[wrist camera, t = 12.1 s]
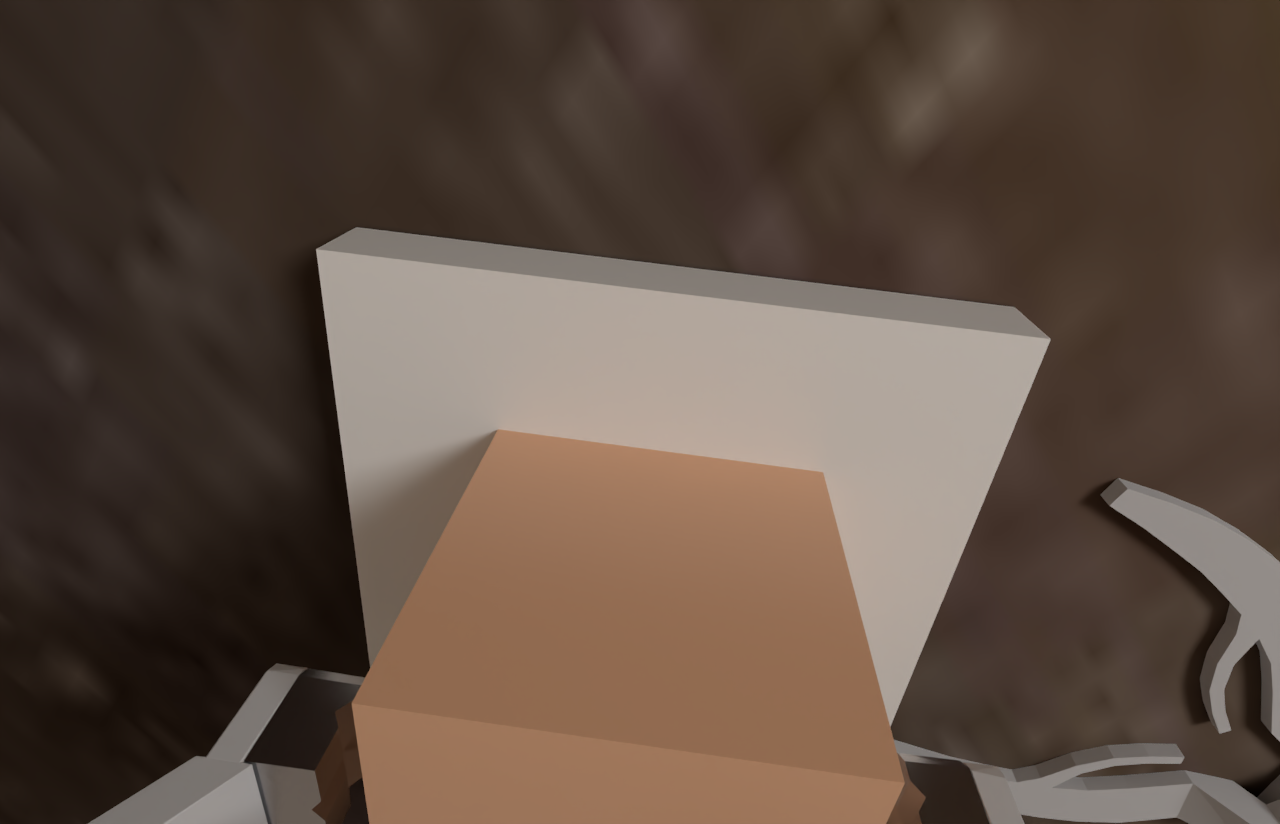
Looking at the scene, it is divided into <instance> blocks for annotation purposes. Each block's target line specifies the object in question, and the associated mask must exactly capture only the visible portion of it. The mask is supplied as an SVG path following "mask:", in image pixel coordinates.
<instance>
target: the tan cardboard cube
mask: <svg viewBox="0 0 1280 824" xmlns="http://www.w3.org/2000/svg"><path fill="white" fill-rule="evenodd" d="M352 710H353V717H354V724H355V730H356V737H357V744H358V751H359V757H360V764H361V771H362V777H363V784H364V791H365V798H366V804H367V811H368V818H369V824H886V823H887V821H888V819H889V816H890V814H891V812H892V810H893V808H894V806H895V803H896V801H897V799H898V797H899V795H900V793H901V791H902V788H903V786H904V784H905V781H904V778H903V774H902V770H901V766H900V762H899V759H898V755H897V751H896V747H895V743H894V740H893V736H892V732H891V728H890V724H889V721H888V717H887V713H886V709H885V705H884V702H883V698H882V694H881V690H880V686H879V683H878V679H877V675H876V671H875V667H874V664H873V660H872V656H871V652H870V648H869V645H868V641H867V637H866V633H865V629H864V626H863V622H862V618H861V614H860V610H859V607H858V603H857V599H856V595H855V591H854V588H853V584H852V580H851V576H850V572H849V569H848V565H847V561H846V557H845V553H844V550H843V546H842V542H841V538H840V534H839V531H838V527H837V523H836V519H835V515H834V512H833V508H832V504H831V500H830V496H829V493H828V489H827V485H826V481H825V477H824V474H823V472H818V471H810V470H803V469H795V468H788V467H780V466H772V465H765V464H757V463H750V462H742V461H735V460H727V459H719V458H712V457H704V456H697V455H689V454H682V453H674V452H666V451H659V450H651V449H644V448H636V447H629V446H621V445H614V444H606V443H598V442H591V441H583V440H576V439H568V438H561V437H553V436H545V435H538V434H530V433H523V432H515V431H508V430H500V429H498V430H497V432H496V434H495V436H494V438H493V440H492V442H491V443H490V445H489V447H488V449H487V451H486V453H485V455H484V456H483V458H482V460H481V462H480V464H479V466H478V468H477V470H476V471H475V473H474V475H473V477H472V479H471V481H470V483H469V485H468V486H467V488H466V490H465V492H464V494H463V496H462V498H461V499H460V501H459V503H458V505H457V507H456V509H455V511H454V513H453V514H452V516H451V518H450V520H449V522H448V524H447V526H446V528H445V529H444V531H443V533H442V535H441V537H440V539H439V541H438V543H437V544H436V546H435V548H434V550H433V552H432V554H431V556H430V557H429V559H428V561H427V563H426V565H425V567H424V569H423V571H422V572H421V574H420V576H419V578H418V580H417V582H416V584H415V586H414V587H413V589H412V591H411V593H410V595H409V597H408V599H407V601H406V602H405V604H404V606H403V608H402V610H401V612H400V614H399V615H398V617H397V619H396V621H395V623H394V625H393V627H392V629H391V630H390V632H389V634H388V636H387V638H386V640H385V642H384V644H383V645H382V647H381V649H380V651H379V653H378V655H377V657H376V659H375V660H374V662H373V664H372V666H371V668H370V670H369V672H368V673H367V675H366V677H365V679H364V681H363V683H362V685H361V687H360V688H359V690H358V692H357V694H356V696H355V698H354V700H353V702H352Z"/></svg>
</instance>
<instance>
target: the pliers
mask: <svg viewBox="0 0 1280 824" xmlns="http://www.w3.org/2000/svg"><path fill="white" fill-rule="evenodd" d="M1100 495H1101V496H1102V498H1103V499H1104V500H1105V501H1106V502H1107V503H1108V505H1109V506H1111V507H1112V508H1114V509H1115V510H1117V511H1118V512H1120V513H1121V514H1123V515H1124V516H1126V517H1127V518H1129V519H1130V520H1132V521H1134V522H1135V523H1137V524H1138V525H1140V526H1141V527H1143V528H1144V529H1146V530H1147V531H1148V532H1150V533H1151V534H1152V535H1154V536H1155V537H1156V538H1158V539H1159V540H1160V541H1162V542H1163V543H1164V544H1166V545H1167V546H1168V547H1170V548H1171V549H1172V550H1174V551H1175V552H1176V553H1178V554H1179V555H1180V556H1181V557H1183V558H1184V559H1185V560H1186V561H1188V562H1189V563H1190V564H1192V565H1193V566H1194V567H1195V568H1197V569H1198V570H1199V571H1201V572H1202V573H1203V574H1204V575H1205V576H1206V578H1207V579H1208V580H1209V581H1210V582H1211V583H1212V584H1213V585H1214V586H1215V587H1216V588H1217V589H1218V590H1219V591H1220V592H1221V593H1222V594H1223V595H1224V596H1225V597H1226V598H1227V599H1228V601H1229V602H1230V604H1229V608H1228V612H1227V616H1226V620H1225V623H1224V625H1223V626H1222V628H1221V629H1220V631H1219V633H1218V634H1217V636H1216V637H1215V639H1214V641H1213V642H1212V644H1211V646H1210V647H1209V649H1208V650H1207V653H1206V657H1205V660H1204V664H1203V668H1202V671H1201V675H1200V685H1201V692H1202V699H1203V703H1204V706H1205V708H1206V711H1207V714H1208V716H1209V719H1210V721H1211V723H1212V724H1213V725H1214V727H1215V728H1216V729H1217V731H1218V732H1219V733H1220V734H1221V733H1224V732H1227V731H1231V728H1230V725H1229V721H1228V718H1227V715H1226V712H1225V697H1224V689H1225V686H1226V684H1227V681H1228V679H1229V676H1230V674H1231V671H1232V668H1233V666H1234V664H1235V663H1236V662H1237V661H1238V660H1239V659H1240V658H1241V657H1242V656H1243V655H1244V654H1245V653H1246V652H1247V651H1248V650H1249V649H1250V648H1251V647H1252V646H1253V645H1254V644H1255V643H1256V644H1257V646H1258V649H1259V651H1260V664H1261V678H1262V684H1261V721H1262V722H1263V724H1264V725H1265V726H1266V727H1267V729H1268V730H1269V731H1270V732H1271V733H1272V734H1273V735H1274V736H1275V737H1276V738H1277V739H1278V740H1279V741H1280V562H1279V561H1278V560H1277V559H1276V558H1275V557H1273V556H1272V555H1271V554H1270V553H1269V552H1268V551H1266V550H1265V549H1264V548H1262V547H1261V546H1260V545H1258V544H1257V543H1256V542H1254V541H1253V540H1252V539H1250V538H1249V537H1248V536H1246V535H1245V534H1244V533H1242V532H1241V531H1240V530H1238V529H1237V528H1235V527H1233V526H1231V525H1230V524H1228V523H1226V522H1224V521H1223V520H1221V519H1219V518H1218V517H1216V516H1214V515H1212V514H1211V513H1209V512H1207V511H1205V510H1204V509H1202V508H1199V507H1197V506H1194V505H1192V504H1189V503H1187V502H1184V501H1182V500H1180V499H1177V498H1175V497H1172V496H1170V495H1167V494H1165V493H1162V492H1159V491H1156V490H1153V489H1150V488H1147V487H1144V486H1141V485H1138V484H1135V483H1132V482H1129V481H1126V480H1123V479H1120V478H1117V479H1116V480H1115V481H1114V482H1113V483H1112V484H1111V485H1110V486H1109V487H1108V488H1107V489H1106V490H1105V491H1103V492H1102V493H1101V494H1100ZM894 743H895V747H896V751H897V753H903V754H911V755H919V756H927V757H935V758H943V759H951V760H959V761H961V762H965V763H973V764H981V763H976V762H972V761H967V760H963V759H958V758H954V757H950V756H946V755H943V754H939V753H936V752H933V751H929V750H926V749H923V748H919V747H916V746H913V745H910V744H906V743H903V742H900V741H896V740H894ZM1183 759H1184V756H1183V754H1182V753H1181V751H1180V750H1179V748H1178V747H1177V745H1176V744H1150V743H1139V744H1121V745H1106V746H1101V747H1096V748H1091V749H1086V750H1081V751H1077V752H1072V753H1068V754H1065V755H1062V756H1060V757H1057V758H1054V759H1051V760H1048V761H1045V762H1043V763H1040V764H1037V765H1033V766H1028V767H1023V768H1017V769H1012V770H1011V769H1006V768H1001V767H998V768H999V769H1000V770H1001V771H1002V773H1003V774H1004V775H1005V778H1006V780H1007V782H1008V785H1009V787H1010V790H1011V792H1012V795H1013V797H1014V800H1015V802H1016V804H1017V807H1018V809H1019V812H1020V814H1022V815H1028V816H1034V817H1040V818H1049V819H1058V820H1068V821H1077V822H1112V823H1121V822H1132V821H1143V820H1154V819H1165V818H1176V817H1177V818H1179V819H1181V820H1183V821H1185V822H1187V823H1189V824H1280V775H1279V776H1278V777H1277V778H1276V779H1275V780H1274V781H1273V782H1272V783H1271V784H1270V785H1269V786H1268V787H1267V788H1266V789H1265V790H1264V791H1263V792H1262V793H1261V794H1260V795H1259V796H1258V797H1257V798H1256V797H1255V796H1253V795H1252V794H1251V793H1249V792H1248V791H1246V790H1245V789H1244V788H1242V787H1241V786H1239V785H1238V784H1237V783H1235V782H1234V781H1232V780H1227V779H1223V778H1218V777H1213V776H1209V775H1204V774H1199V773H1195V772H1190V771H1186V770H1182V771H1170V772H1158V773H1146V774H1134V775H1121V776H1102V777H1083V778H1080V777H1075V776H1077V775H1079V774H1082V773H1086V772H1090V771H1094V770H1099V769H1103V768H1107V767H1112V766H1118V765H1133V764H1147V763H1159V764H1181V762H1182V761H1183ZM981 765H986V764H981ZM989 766H991V765H989ZM994 767H996V766H994Z"/></svg>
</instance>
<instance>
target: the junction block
mask: <svg viewBox="0 0 1280 824" xmlns="http://www.w3.org/2000/svg"><path fill="white" fill-rule="evenodd" d="M316 253H317V261H318V268H319V276H320V284H321V291H322V299H323V307H324V315H325V322H326V330H327V338H328V346H329V353H330V361H331V369H332V376H333V384H334V392H335V400H336V407H337V415H338V423H339V430H340V438H341V446H342V454H343V461H344V469H345V477H346V485H347V492H348V500H349V508H350V515H351V523H352V531H353V539H354V546H355V554H356V562H357V569H358V577H359V585H360V593H361V600H362V608H363V616H364V624H365V631H366V639H367V647H368V654H369V662H370V668H371V666H372V664H373V662H374V660H375V659H376V657H377V655H378V653H379V651H380V649H381V647H382V645H383V644H384V642H385V640H386V638H387V636H388V634H389V632H390V630H391V629H392V627H393V625H394V623H395V621H396V619H397V617H398V615H399V614H400V612H401V610H402V608H403V606H404V604H405V602H406V601H407V599H408V597H409V595H410V593H411V591H412V589H413V587H414V586H415V584H416V582H417V580H418V578H419V576H420V574H421V572H422V571H423V569H424V567H425V565H426V563H427V561H428V559H429V557H430V556H431V554H432V552H433V550H434V548H435V546H436V544H437V543H438V541H439V539H440V537H441V535H442V533H443V531H444V529H445V528H446V526H447V524H448V522H449V520H450V518H451V516H452V514H453V513H454V511H455V509H456V507H457V505H458V503H459V501H460V499H461V498H462V496H463V494H464V492H465V490H466V488H467V486H468V485H469V483H470V481H471V479H472V477H473V475H474V473H475V471H476V470H477V468H478V466H479V464H480V462H481V460H482V458H483V456H484V455H485V453H486V451H487V449H488V447H489V445H490V443H491V442H492V440H493V438H494V436H495V434H496V432H497V430H498V429H500V430H508V431H515V432H523V433H530V434H538V435H545V436H553V437H561V438H568V439H576V440H583V441H591V442H598V443H606V444H614V445H621V446H629V447H636V448H644V449H651V450H659V451H666V452H674V453H682V454H689V455H697V456H704V457H712V458H719V459H727V460H735V461H742V462H750V463H757V464H765V465H772V466H780V467H788V468H795V469H803V470H810V471H818V472H823V474H824V477H825V481H826V485H827V489H828V493H829V496H830V500H831V504H832V508H833V512H834V515H835V519H836V523H837V527H838V531H839V534H840V538H841V542H842V546H843V550H844V553H845V557H846V561H847V565H848V569H849V572H850V576H851V580H852V584H853V588H854V591H855V595H856V599H857V603H858V607H859V610H860V614H861V618H862V622H863V626H864V629H865V633H866V637H867V641H868V645H869V648H870V652H871V656H872V660H873V664H874V667H875V671H876V675H877V679H878V683H879V686H880V690H881V694H882V698H883V702H884V705H885V709H886V713H887V717H888V721H889V724H890V726H891V724H892V721H893V719H894V716H895V714H896V712H897V709H898V707H899V704H900V702H901V699H902V697H903V695H904V692H905V690H906V687H907V685H908V683H909V680H910V678H911V675H912V673H913V670H914V668H915V666H916V663H917V661H918V658H919V656H920V654H921V651H922V649H923V646H924V644H925V642H926V639H927V637H928V634H929V632H930V629H931V627H932V625H933V622H934V620H935V617H936V615H937V613H938V610H939V608H940V605H941V603H942V600H943V598H944V596H945V593H946V591H947V588H948V586H949V584H950V581H951V579H952V576H953V574H954V572H955V569H956V567H957V564H958V562H959V559H960V557H961V555H962V552H963V550H964V547H965V545H966V543H967V540H968V538H969V535H970V533H971V530H972V528H973V526H974V523H975V521H976V518H977V516H978V514H979V511H980V509H981V506H982V504H983V502H984V499H985V497H986V494H987V492H988V489H989V487H990V485H991V482H992V480H993V477H994V475H995V473H996V470H997V468H998V465H999V463H1000V461H1001V458H1002V456H1003V453H1004V451H1005V448H1006V446H1007V444H1008V441H1009V439H1010V436H1011V434H1012V432H1013V429H1014V427H1015V424H1016V422H1017V419H1018V417H1019V415H1020V412H1021V410H1022V407H1023V405H1024V403H1025V400H1026V398H1027V395H1028V393H1029V391H1030V388H1031V386H1032V383H1033V381H1034V378H1035V376H1036V374H1037V371H1038V369H1039V366H1040V364H1041V362H1042V359H1043V357H1044V354H1045V352H1046V349H1047V347H1048V345H1049V342H1050V340H1051V339H1050V338H1049V337H1048V336H1047V335H1045V334H1044V333H1043V332H1042V331H1041V330H1040V329H1039V328H1038V327H1036V326H1035V325H1034V324H1033V323H1032V322H1031V321H1030V320H1029V319H1027V318H1026V317H1025V316H1024V315H1023V314H1022V313H1021V312H1019V311H1018V310H1017V309H1016V308H1015V307H1010V306H1001V305H993V304H985V303H977V302H968V301H960V300H952V299H944V298H935V297H927V296H919V295H911V294H903V293H894V292H886V291H878V290H870V289H861V288H853V287H845V286H837V285H828V284H820V283H812V282H804V281H795V280H787V279H779V278H771V277H762V276H754V275H746V274H738V273H729V272H721V271H713V270H705V269H696V268H688V267H680V266H672V265H664V264H655V263H647V262H639V261H631V260H622V259H614V258H606V257H598V256H589V255H581V254H573V253H565V252H556V251H548V250H540V249H532V248H523V247H515V246H507V245H499V244H490V243H482V242H474V241H466V240H457V239H449V238H441V237H433V236H424V235H416V234H408V233H400V232H392V231H383V230H375V229H367V228H359V227H356V228H354V229H352V230H350V231H349V232H347V233H345V234H343V235H341V236H339V237H338V238H336V239H334V240H332V241H330V242H328V243H327V244H325V245H323V246H321V247H319V248H317V249H316Z"/></svg>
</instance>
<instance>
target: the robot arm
mask: <svg viewBox="0 0 1280 824" xmlns="http://www.w3.org/2000/svg"><path fill="white" fill-rule="evenodd" d="M364 679H365V678H364V677H358V676H352V675H346V674H340V673H334V672H328V671H322V670H316V669H310V668H305V667H298V666H292V665H285V664H278V663H276V664H275V665H274V666H273V667H271V668H270V669H269V670H268V671H266V672H265V674H264V675H263V676H262V678H261V679H260V681H259V682H258V683H257V685H256V686H255V688H254V689H253V691H252V692H251V693H250V695H249V696H248V698H247V699H246V701H245V702H244V703H243V705H242V706H241V708H240V709H239V710H238V712H237V713H236V715H235V716H234V718H233V719H232V720H231V722H230V723H229V725H228V726H227V728H226V729H225V730H224V732H223V733H222V735H221V736H220V737H219V739H218V740H217V742H216V743H215V745H214V746H213V747H212V749H211V750H210V752H209V753H208V755H207V756H206V757H203V756H195V757H193V758H192V759H190V760H189V761H187V762H185V763H184V764H182V765H181V766H179V767H177V768H176V769H174V770H173V771H171V772H169V773H168V774H166V775H165V776H163V777H161V778H160V779H158V780H157V781H155V782H153V783H152V784H150V785H149V786H147V787H145V788H144V789H142V790H141V791H139V792H137V793H136V794H134V795H133V796H131V797H129V798H128V799H126V800H125V801H123V802H121V803H120V804H118V805H117V806H115V807H113V808H112V809H110V810H109V811H107V812H105V813H104V814H102V815H101V816H99V817H97V818H96V819H94V820H93V821H91V822H89V823H88V824H342V822H343V820H344V818H345V816H346V814H347V811H348V809H349V807H350V805H351V799H350V793H349V787H350V786H351V785H352V784H354V783H355V782H356V781H358V780H359V779H360V778H362V771H361V764H360V757H359V751H358V744H357V737H356V730H355V724H354V717H353V710H352V702H353V700H354V698H355V696H356V694H357V692H358V690H359V688H360V687H361V685H362V683H363V681H364ZM897 755H898V759H899V762H900V766H901V770H902V774H903V778H904V781H905V784H904V786H903V788H902V791H901V793H900V795H899V797H898V799H897V801H896V803H895V806H894V808H893V810H892V812H891V814H890V816H889V819H888V821H887V823H886V824H1024V821H1023V819H1022V817H1021V814H1020V812H1019V809H1018V807H1017V804H1016V802H1015V800H1014V797H1013V795H1012V792H1011V790H1010V787H1009V785H1008V782H1007V780H1006V778H1005V775H1004V774H1003V773H1002V771H1001V770H1000V769H999V768H998V767H994V766H989V765H981V764H973V763H965V762H961V761H959V760H951V759H943V758H935V757H927V756H919V755H911V754H903V753H897Z"/></svg>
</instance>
